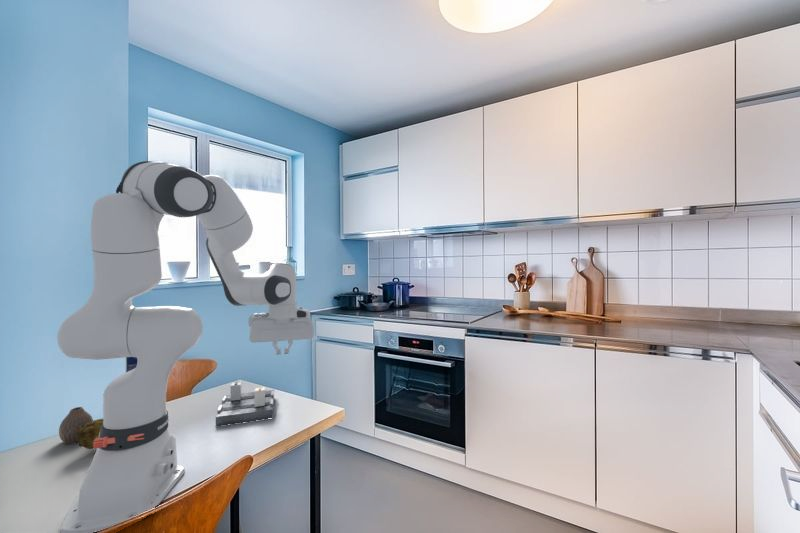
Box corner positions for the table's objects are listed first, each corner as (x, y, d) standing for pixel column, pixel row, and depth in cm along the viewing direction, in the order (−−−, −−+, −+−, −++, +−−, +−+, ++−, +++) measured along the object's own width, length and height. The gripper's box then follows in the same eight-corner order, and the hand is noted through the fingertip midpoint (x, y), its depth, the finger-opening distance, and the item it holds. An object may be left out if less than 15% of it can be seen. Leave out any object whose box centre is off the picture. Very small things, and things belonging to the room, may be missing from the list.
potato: (142, 441, 93) (142, 412, 93) (78, 463, 83) (78, 430, 83) (133, 432, 98) (133, 404, 98) (72, 451, 88) (72, 420, 88)
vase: (71, 448, 89) (71, 415, 89) (51, 445, 91) (51, 412, 91) (99, 435, 96) (99, 404, 96) (80, 432, 97) (80, 402, 97)
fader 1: (240, 399, 114) (240, 383, 114) (230, 400, 113) (230, 384, 113) (241, 396, 117) (241, 381, 117) (231, 397, 116) (231, 382, 116)
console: (272, 419, 106) (272, 407, 106) (215, 426, 101) (215, 414, 101) (274, 398, 123) (274, 387, 123) (225, 403, 118) (225, 393, 118)
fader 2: (264, 405, 109) (264, 389, 109) (254, 406, 108) (254, 390, 108) (265, 402, 112) (265, 386, 112) (255, 403, 111) (255, 387, 111)
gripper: (247, 315, 106) (247, 359, 106) (314, 312, 112) (314, 353, 112) (249, 312, 112) (249, 354, 112) (313, 309, 118) (312, 349, 118)
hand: (282, 353), depth 112 cm, fingers closed
